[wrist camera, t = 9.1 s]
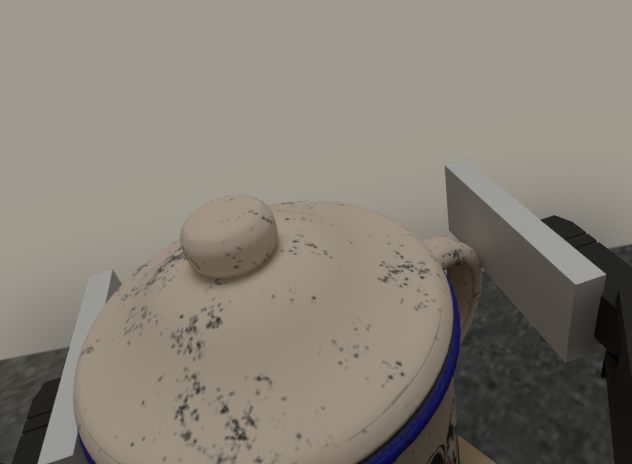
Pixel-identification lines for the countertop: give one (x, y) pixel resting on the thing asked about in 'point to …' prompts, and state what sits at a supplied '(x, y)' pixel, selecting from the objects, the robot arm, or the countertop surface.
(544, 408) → the countertop surface
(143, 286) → the teacup with lid
